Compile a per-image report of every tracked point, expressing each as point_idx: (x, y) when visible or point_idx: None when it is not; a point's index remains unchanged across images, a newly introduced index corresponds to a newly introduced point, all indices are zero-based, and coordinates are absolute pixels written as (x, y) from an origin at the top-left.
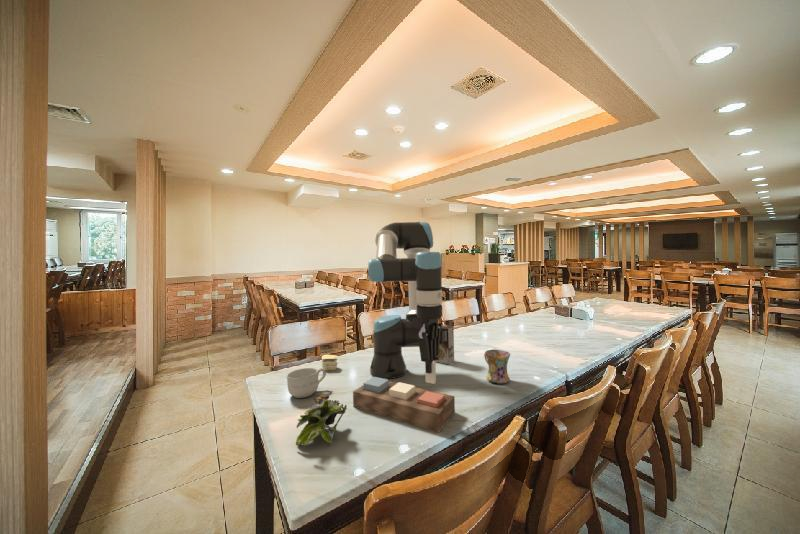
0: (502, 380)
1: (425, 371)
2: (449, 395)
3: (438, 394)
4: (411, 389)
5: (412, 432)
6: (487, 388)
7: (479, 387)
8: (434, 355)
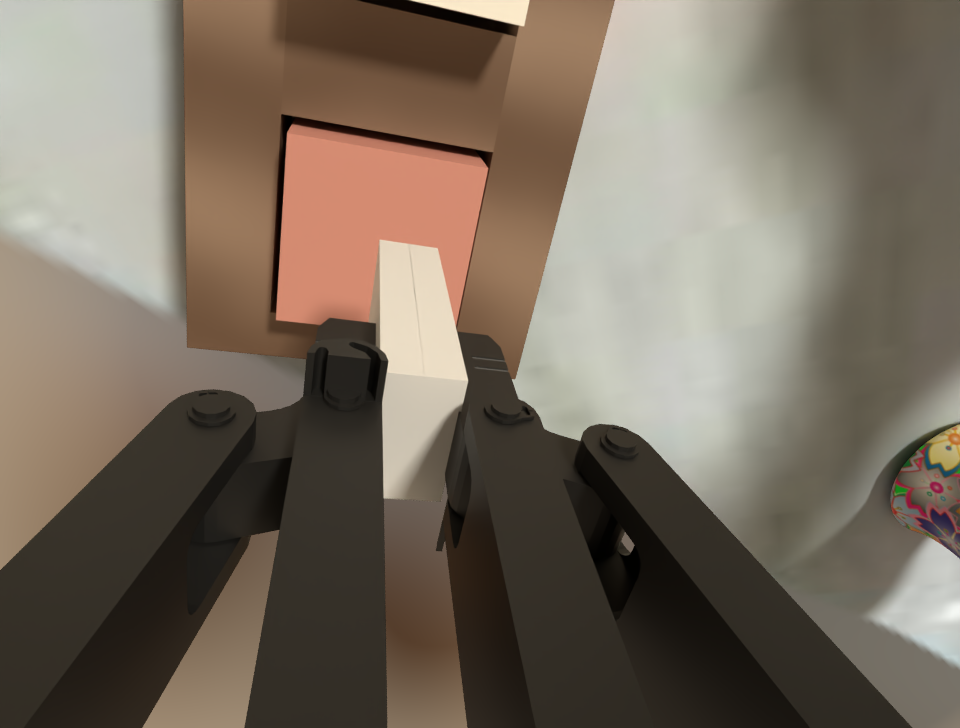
0: (903, 514)
1: (378, 295)
2: (517, 344)
3: (449, 291)
4: (434, 5)
5: (112, 114)
6: (839, 435)
7: (854, 393)
8: (449, 554)
